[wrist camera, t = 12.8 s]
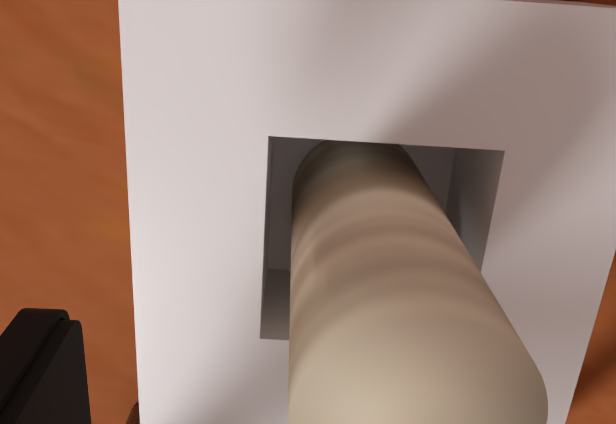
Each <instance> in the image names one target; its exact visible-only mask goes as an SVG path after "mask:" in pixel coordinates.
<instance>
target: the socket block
mask: <svg viewBox="0 0 616 424" xmlns="http://www.w3.org/2000/svg"><path fill="white" fill-rule="evenodd" d="M118 2H119V22H120V42H121V61H122V81H123V101H124V120H125V140H126V159H127V179H128V199H129V218H130V238H131V258H132V277H133V297H134V317H135V336H136V356H137V376H138V395H139V415H140V424H288V385H289V332H290V279H291V225H292V188H293V182H294V178H295V175H296V172H297V170H298V167H299V166H300V164H301V162H302V161H303V159H304V158H305V157H306V156H307V154H308V153H309V152H310V151H311V150H312V149H313V148H314V147H316V146H317V145H318V144H320V143H321V142H323V141H325V140H340V141H357V142H373V143H389V144H398V145H400V146H401V147H402V148H403V149H404V150H405V151H406V152H407V153H408V154H409V156H410V157H411V158H412V160H413V161H414V163H415V165H416V166H417V168H418V170H419V171H420V173H421V175H422V176H423V178H424V180H425V181H426V183H427V185H428V186H429V188H430V190H431V191H432V193H433V195H434V196H435V198H436V200H437V201H438V203H439V205H440V206H441V208H442V210H443V211H444V213H445V215H446V216H447V218H448V219H449V221H450V223H451V224H452V226H453V228H454V229H455V231H456V233H457V234H458V236H459V238H460V239H461V241H462V243H463V244H464V246H465V248H466V249H467V251H468V253H469V254H470V256H471V258H472V259H473V261H474V263H475V264H476V266H477V268H478V269H479V271H480V273H481V274H482V276H483V278H484V279H485V281H486V283H487V284H488V286H489V288H490V289H491V291H492V293H493V294H494V296H495V297H496V299H497V301H498V302H499V304H500V306H501V307H502V309H503V311H504V312H505V314H506V316H507V317H508V319H509V321H510V322H511V324H512V326H513V327H514V329H515V331H516V332H517V334H518V336H519V337H520V339H521V341H522V342H523V344H524V346H525V347H526V349H527V351H528V352H529V354H530V356H531V357H532V359H533V361H534V362H535V364H536V366H537V368H538V370H539V371H540V373H541V375H542V378H543V381H544V384H545V387H546V391H547V398H548V418H547V423H546V424H565V422H566V419H567V415H568V412H569V408H570V405H571V401H572V398H573V395H574V391H575V388H576V384H577V381H578V377H579V374H580V371H581V367H582V364H583V360H584V357H585V353H586V350H587V346H588V343H589V340H590V336H591V333H592V329H593V326H594V322H595V319H596V316H597V312H598V309H599V305H600V302H601V298H602V295H603V292H604V288H605V285H606V281H607V278H608V274H609V271H610V268H611V264H612V261H613V257H614V254H615V250H616V6H613V5H604V4H595V3H585V2H574V1H560V0H118Z"/></svg>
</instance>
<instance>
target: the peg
mask: <svg viewBox="0 0 616 424" xmlns="http://www.w3.org/2000/svg"><path fill="white" fill-rule="evenodd" d="M547 418H548V398H547V391H546V387H545V384H544V381H543V378H542V375H541V373H540V371H539V370H538V368H537V366H536V364H535V362H534V361H533V359H532V357H531V356H530V354H529V352H528V351H527V349H526V347H525V346H524V344H523V342H522V341H521V339H520V337H519V336H518V334H517V332H516V331H515V329H514V327H513V326H512V324H511V322H510V321H509V319H508V317H507V316H506V314H505V312H504V311H503V309H502V307H501V306H500V304H499V302H498V301H497V299H496V297H495V296H494V294H493V293H492V291H491V289H490V288H489V286H488V284H487V283H486V281H485V279H484V278H483V276H482V274H481V273H480V271H479V269H478V268H477V266H476V264H475V263H474V261H473V259H472V258H471V256H470V254H469V253H468V251H467V249H466V248H465V246H464V244H463V243H462V241H461V239H460V238H459V236H458V234H457V233H456V231H455V229H454V228H453V226H452V224H451V223H450V221H449V219H448V218H447V216H446V215H445V213H444V211H443V210H442V208H441V206H440V205H439V203H438V201H437V200H436V198H435V196H434V195H433V193H432V191H431V190H430V188H429V186H428V185H427V183H426V181H425V180H424V178H423V176H422V175H421V173H420V171H419V170H418V168H417V166H416V165H415V163H414V161H413V160H412V158H411V157H410V156H409V154H408V153H407V152H406V151H405V150H404V149H403V148H402V147H401V146H400V145H398V144H389V143H373V142H357V141H340V140H325V141H323V142H321V143H320V144H318V145H317V146H316V147H314V148H313V149H312V150H311V151H310V152H309V153H308V154H307V156H306V157H305V158H304V159H303V161H302V162H301V164H300V166H299V167H298V170H297V172H296V175H295V178H294V182H293V188H292V225H291V279H290V332H289V385H288V424H546V423H547Z"/></svg>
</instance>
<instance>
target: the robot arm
mask: <svg viewBox="0 0 616 424" xmlns="http://www.w3.org/2000/svg"><path fill="white" fill-rule="evenodd" d="M0 424H91V416H90V406H89V395H88V385H87V375H86V364H85V354H84V344H83V334H82V326H81V323H80V321H78V320H70V319H69V315H68V313H67V311H65V310H62V309H36V308H24V309H22V310H20V311H19V312H18V314H17V315H16V316H15V317H14V319H13V320H12V321H11V323H10V324H9V325H8V327H7V328H6V329H5V331H4V332H3V333H2V335H1V336H0Z"/></svg>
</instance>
